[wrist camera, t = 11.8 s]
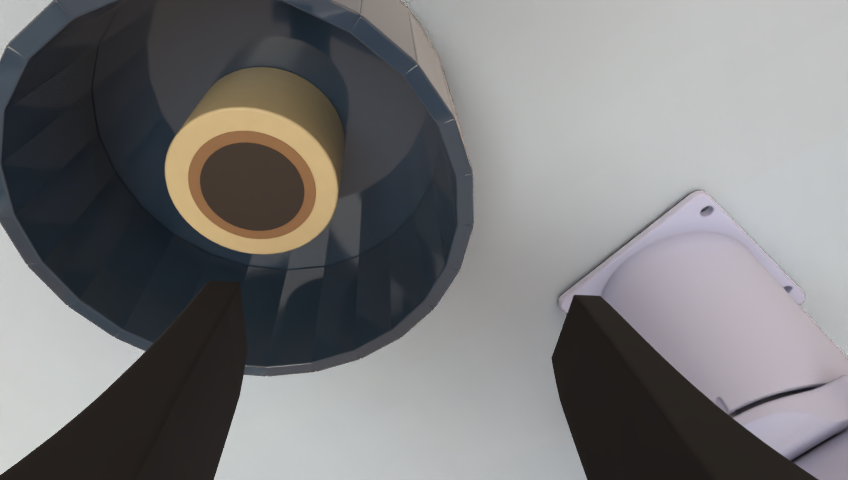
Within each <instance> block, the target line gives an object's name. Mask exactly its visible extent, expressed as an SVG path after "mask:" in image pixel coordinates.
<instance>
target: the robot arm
mask: <svg viewBox="0 0 848 480" xmlns="http://www.w3.org/2000/svg"><path fill="white" fill-rule="evenodd" d="M706 206H708V208H707V209H706V210H704V211H702V212H701V210H702V209H703V208H705V207H706ZM805 299H806V294H805V293H804V292H803V291H802V290H801V289H800V288H799V287H798V285H797V284H796V283H795V282H794V281H793V280H792V279H791V278H790V277H789V276H788V275H787V274H786V273H785V272H784V271H783V270H782V269H781V268H780V267H779V266H778V265H777V264H776V263H775V262H774V261H773V260H772V259H771V258H770V257H769V256H768V255H767V254H766V253H765V252H764V251H763V250H762V249H761V248H760V247H759V246H758V245H757V244H756V243H755V242H754V240H753V239H752V238H751V237H750V236H749V235H748V234H747V233H746V232H745V231H744V230H743V229H742V228H741V227H740V226H739V225H738V224H737V223H736V222H735V221H734V220H733V219H732V218H731V217H730V216H729V215H728V214H727V213H726V212H725V211H724V210H723V209H722V208H721V207H720V206H719V205H718V204H717V203H716V202H715V201H714V200H713V199H712V198H711V196H710V195H709V194H708V193H706V192H705V191H700V190H699V191H695V192H693V193H691V194H690V195H688V196H687V197H686V198H684V199H683V200H682V201H681V202H679V203H678V204H677V205H676V206H674V207H673V208H672V209H670V210H669V211H668V212H667V213H665V214H664V215H663V216H662V217H660V218H659V219H658V220H656V221H655V222H654V223H653V224H651V225H650V226H649V227H648V228H646V229H645V230H644V231H642V232H641V233H640V234H639V235H637V236H636V237H635V238H634V239H632V240H631V241H630V242H628V243H627V244H626V245H625V246H623V247H622V248H621V249H620V250H618V251H617V252H616V253H614V254H613V255H612V256H611V257H609V258H608V259H607V260H606V261H604V262H603V263H602V264H600V265H599V266H598V267H597V268H595V269H594V270H593V271H592V272H590V273H589V274H588V275H586V276H585V277H584V278H583V279H581V280H580V281H579V282H578V283H576V284H575V285H574V286H572V287H571V288H570V289H569V290H567V291H566V292H565V293H563V294H562V295H561V296H560V297H559V300H558V302H559V306H560V308H561V309H562V310H563V311H564V312H566V313H567V316H566V319H565V322H564V324H563V327H562V330H561V333H560V336H559V339H558V341H557V344H556V347H555V350H554V353H553V356H552V363H553V368H554V374H555V379H556V384H557V388H558V393H559V398H560V401H561V405H562V408H563V411H564V414H565V417H566V419H567V422H568V425H569V428H570V431H571V434H572V437H573V440H574V443H575V446H576V448H577V451H578V454H579V457H580V460H581V463H582V466H583V468H584V471H585V474H586V477H587V480H848V358H847V357H846V356H845V355H844V354H843V353H842V352H841V351H840V349H839V348H838V347H837V346H836V345H835V344H834V343H833V342H832V341H831V340H830V339H829V337H828V336H827V335H826V334H825V333H824V332H823V331H822V330H821V329H820V328H819V327H818V325H817V324H816V323H815V322H814V321H813V320H812V319H811V318H810V317H809V316H808V314H807V313H806V312H805V311H804V310H803V309H802V308H801V307H800V306H799V305H800V304H801V303H803V302H804V300H805ZM247 352H248V350H247V341H246V332H245V322H244V313H243V304H242V295H241V286H240V282H226V281H209V282H208V283H206V284H205V285H204V286H203V287H202V289H201V290H200V291H199V292H198V293H197V295H196V296H195V297H194V298H193V299H192V301H191V302H190V303H189V304H188V305H187V306H186V308H185V309H184V310H183V311H182V312H181V313H180V315H179V316H178V317H177V318H176V319H175V320H174V321H173V322H172V324H171V325H170V326H169V327H168V328H167V329H166V330H165V331H164V332H163V333H162V334H161V336H160V337H159V338H158V339H157V340H156V341H155V342H154V343H153V344H152V345H151V346H150V347H149V348H148V349H147V350H146V352H145V353H144V354H143V355H142V356H141V357H140V358H139V359H138V360H137V361H136V362H135V363H134V364H133V365H132V366H131V367H130V368H129V369H128V370H126V371H125V372H124V373H123V374H122V375H121V376H120V377H119V378H118V379H117V380H116V381H115V382H114V383H113V384H112V385H111V386H110V387H109V388H108V389H107V390H106V391H105V392H103V393H102V394H101V395H100V396H99V397H98V398H97V399H96V400H95V401H93V402H92V403H91V404H90V405H89V406H88V407H87V408H86V409H84V410H83V411H82V412H81V413H80V414H79V415H77V416H76V417H75V418H74V419H73V420H71V421H70V422H69V423H68V424H67V425H65V426H64V427H63V428H62V429H61V430H59V431H58V432H57V433H56V434H54V435H53V436H52V437H50V438H49V439H48V440H47V441H45V442H44V443H43V444H41V445H40V446H39V447H37V448H36V449H35V450H34V451H32V452H31V453H30V454H28V455H27V456H26V457H24V458H23V459H22V460H21V461H19V462H18V463H17V464H15V465H14V466H12V467H11V468H10V469H8V470H7V471H6V472H4V473H3V474H1V475H0V480H214V477H215V473H216V470H217V467H218V464H219V461H220V457H221V454H222V451H223V448H224V445H225V441H226V438H227V435H228V432H229V429H230V425H231V422H232V419H233V416H234V412H235V409H236V406H237V402H238V399H239V396H240V391H241V385H242V380H243V375H244V369H245V363H246V358H247Z"/></svg>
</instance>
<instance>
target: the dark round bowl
mask: <svg viewBox="0 0 848 480" xmlns="http://www.w3.org/2000/svg"><path fill="white" fill-rule="evenodd" d="M252 67H269V68H276V69H281V70H285V71H288V72H291V73H293V74H296V75H298V76H300V77H302V78H304V79H305V80H307V81H308V82H310V83H311V84H313V85H314V86H315V87H317V88H318V89H319V90H320V91H321V92H322V93H323V94H324V95H325V96H326V97H327V98H328V99H329V101H330V102H331V104H332V105H333V106H334V108H335V110H336V112H337V113H338V115H339V118H340V120H341V123H342V127H343V131H344V139H345V146H344V156H343V164H342V172H341V181H340V189H339V197H338V202H337V207H336V210H335V212H334V215H333V217H332V219H331V220H330V222H329V224H328V225H327V226H326V227H325V229H324V230H323V231H322V232H321V233H320V234H319V235H318V236H317V237H315V238H314V239H313V240H311V241H310V242H308V243H307V244H305V245H303V246H301V247H299V248H296V249H293V250H291V251H287V252H283V253H276V254H250V253H244V252H239V251H235V250H232V249H229V248H226V247H224V246H221V245H219V244H217V243H215V242H213V241H211V240H209V239H208V238H206V237H205V236H203V235H202V234H200V233H199V232H198V231H196V230H195V229H194V228H193V227H192V226H191V225H190V224H189V223H188V222H187V221H186V220H185V219H184V218H183V217H182V215H181V214H180V213H179V211H178V210H177V208H176V207H175V205H174V203H173V201H172V199H171V197H170V195H169V191H168V188H167V185H166V179H165V161H166V155H167V152H168V149H169V146H170V144H171V142H172V141H173V139H174V137H175V136H176V134H177V133H178V131H179V130H180V129H181V127H182V126H183V124H184V123H185V122H186V120H187V119H188V117H189V116H190V115H191V113H192V112H193V110H194V109H195V108H196V106H197V105H198V104H199V102H200V101H201V99H202V98H203V97H204V95H205V94H206V93H207V91H208V90H209V89H210V88H211V86H213V85H214V84H215V83H216V82H217V81H218V80H220V79H221V78H223V77H224V76H226V75H228V74H230V73H232V72H235V71H238V70H241V69H245V68H252ZM0 223H1V225H2V226H3V228H4V230H5V231H6V233H7V234H8V236H9V238H10V239H11V241H12V242H13V244H14V246H15V247H16V249H17V250H18V252H19V254H20V255H21V257H22V258H23V260H24V262H25V263H26V264H28V267H29V268H30V269H31V270H32V271H33V272H34V273H35V274H36V275H37V276H38V277H39V278H40V279H41V280H42V281H43V282H44V283H45V284H46V285H47V286H48V287H49V288H50V289H51V290H52V291H53V292H54V293H55V294H56V295H57V296H58V297H59V298H60V299H61V300H62V301H63V302H64V303H65V304H66V305H68V306H69V307H70V308H71V309H73V310H74V311H76V312H77V313H79V314H80V315H82V316H83V317H85V318H86V319H88V320H89V321H91V322H92V323H94V324H95V325H97V326H98V327H100V328H101V329H103V330H104V331H106V332H107V333H109V334H110V335H112V336H113V337H115V338H117V339H119V340H121V341H123V342H126V343H128V344H130V345H133V346H135V347H137V348H139V349H142V350H144V351H146V350H147V349H148V348H149V347H150V346H151V345H152V344H153V343H154V342H155V341H156V340H157V339H158V338H159V337H160V336H161V334H162V333H163V332H164V331H165V330H166V329H167V328H168V327H169V326H170V325H171V324H172V322H173V321H174V320H175V319H176V318H177V317H178V316H179V315H180V313H181V312H182V311H183V310H184V309H185V308H186V306H187V305H188V304H189V303H190V302H191V301H192V299H193V298H194V297H195V296H196V295H197V293H198V292H199V291H200V290H201V289H202V287H203V286H204V285H205V284H206V283H208V282H209V281H226V282H240V286H241V295H242V304H243V313H244V322H245V332H246V341H247V350H248V352H247V358H246V363H245V369H244V375H255V376H277V375H288V374H299V373H309V372H315V371H321V370H324V369H328V368H331V367H335V366H338V365H341V364H345V363H348V362H352V361H355V360H359V359H360V358H364V357H365V356H367V355H369V354H371V353H373V352H375V351H377V350H379V349H381V348H382V347H384V346H386V345H388V344H390V343H392V342H394V341H396V340H398V339H399V338H400V337H402V336H404V335H405V334H406V333H407V332H408V331H409V330H410V329H411V328H413V327H414V326H415V325H416V324H417V323H418V322H419V321H421V320H422V319H423V318H424V317H425V316H426V315H427V314H429V313H430V312H431V311H432V310H433V309H434V307H436V305H437V304H438V302H439V301H440V299H441V298H442V296H443V295H444V293H445V292H446V290H447V289H448V287H449V286H450V284H451V283H452V281H453V280H454V278H455V277H456V275H457V274H458V272H459V269H460V268H461V265H462V262H463V258H464V255H465V251H466V248H467V245H468V241H469V238H470V235H471V231H472V228H473V223H474V212H473V173H472V168H471V164H470V160H469V157H468V153H467V150H466V146H465V143H464V139H463V136H462V132H461V129H460V125H459V122H458V118H457V115H456V111H455V107H454V104H453V100H452V97H451V94H450V91H449V88H448V85H447V82H446V79H445V75H444V72H443V69H442V66H441V63H440V60H439V57H438V55H437V53H436V51H435V49H434V48H433V46H432V44H431V42H430V41H429V39H428V37H427V35H426V33H425V32H424V30H423V28H422V27H421V25H420V24H419V23H418V21H417V20H416V19H415V17H414V16H413V15H412V13H411V12H410V11H409V9H408V8H407V7H406V6H405V5H404V4H403V3H402V2H401V1H400V0H53V1H52V2H51V3H50V4H49V5H48V6H47V7H46V8H45V9H44V10H43V11H42V12H41V13H39V14H38V15H37V16H36V17H35V18H34V19H33V20H32V21H31V22H30V23H29V24H28V25H27V26H26V27H25V28H24V29H23V30H21V31H20V32H19V33H18V34H17V35H16V36H15V37H14V38H13V39H12V40H11V41H10V42H9V44H8V45H7V46H6V48H5V50H4V53H3V55H2V57H1V59H0Z"/></svg>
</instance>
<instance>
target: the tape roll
mask: <svg viewBox="0 0 848 480" xmlns="http://www.w3.org/2000/svg"><path fill="white" fill-rule="evenodd" d="M344 146H345V139H344V131H343V127H342V123H341V120H340V118H339V115H338V113H337V112H336V110H335V108H334V106H333V105H332V104H331V102H330V101H329V99H328V98H327V97H326V96H325V95H324V94H323V93H322V92H321V91H320V90H319V89H318V88H317V87H315V86H314V85H313V84H311V83H310V82H308V81H307V80H305V79H304V78H302V77H300V76H298V75H296V74H293V73H291V72H288V71H285V70H281V69H276V68H269V67H252V68H245V69H241V70H238V71H235V72H232V73H230V74H228V75H226V76H224V77H223V78H221V79H220V80H218V81H217V82H216V83H215V84H214V85H213V86H211V88H210V89H209V90H208V91H207V93H206V94H205V95H204V97H203V98H202V99H201V101H200V102H199V104H198V105H197V106H196V108H195V109H194V110H193V112H192V113H191V115H190V116H189V117H188V119H187V120H186V122H185V123H184V124H183V126H182V127H181V129H180V130H179V131H178V133H177V134H176V136H175V137H174V139H173V141H172V142H171V144H170V146H169V149H168V152H167V155H166V161H165V179H166V185H167V188H168V191H169V195H170V197H171V199H172V201H173V203H174V205H175V207H176V208H177V210H178V211H179V213H180V214H181V215H182V217H183V218H184V219H185V220H186V221H187V222H188V223H189V224H190V225H191V226H192V227H193V228H194V229H195V230H196V231H198V232H199V233H200V234H202V235H203V236H205V237H206V238H208V239H209V240H211V241H213V242H215V243H217V244H219V245H221V246H224V247H226V248H229V249H232V250H235V251H239V252H244V253H250V254H276V253H283V252H287V251H291V250H293V249H296V248H299V247H301V246H303V245H305V244H307V243H308V242H310V241H311V240H313V239H314V238H315V237H317V236H318V235H319V234H320V233H321V232H322V231H323V230H324V229H325V227H326V226H327V225H328V224H329V222H330V220H331V219H332V217H333V215H334V212H335V210H336V207H337V202H338V197H339V189H340V181H341V172H342V164H343V156H344Z"/></svg>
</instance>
